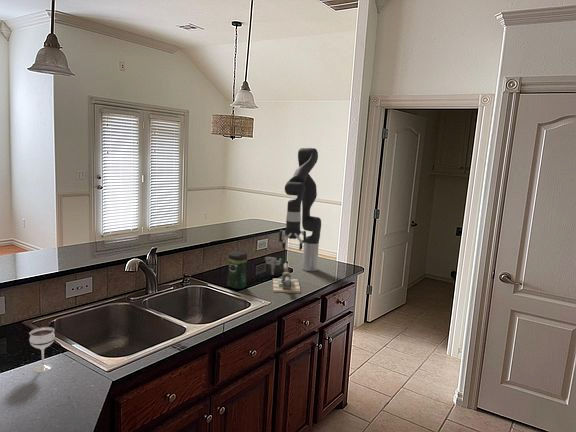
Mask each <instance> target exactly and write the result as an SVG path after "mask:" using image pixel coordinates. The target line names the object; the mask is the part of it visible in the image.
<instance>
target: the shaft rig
mask: <svg viewBox="0 0 576 432" xmlns="http://www.w3.org/2000/svg"><path fill="white" fill-rule="evenodd" d="M283 272H289V264H288V262H285V263H283ZM283 272H282V273H281V278H272V292H273V293H293V294H297V293H298V294H301V288H300V284H299V279H298V278H297V279H295V278H289V277H286V278H285V281H283V283H282V279H283Z"/></svg>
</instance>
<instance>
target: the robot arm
mask: <svg viewBox="0 0 576 432" xmlns="http://www.w3.org/2000/svg"><path fill="white" fill-rule="evenodd" d="M297 160H298V167H297V169H295V172H294V173H293V175H292V177H290V179H288V180H287V182H286V184H285V186H284V192H285V194H286V195H288V196H295V197H296V198H295V199H294V198H293V199H289V200H288V201H287V210H286V218H285V219H286V220H285V221H286V222H285V223H286V224H285V230H283V229H280V230H279V237H278V241H279V242H280V243H282V244H281V249H282V250H283V251H285V250H286V242H287V240H288V239H290V240H292V239H293V240H296V239H297V240H298V242H299V245H298V246H299V249H298V250H299V251H301V250H302V249H303V250H302V264H301V266H302V267H301V270H303V271H306V272H317V270H318V260H319V259H318V257H319V244H320V238H321V231H322V230H321V229H322V219H321V218H320V217H319V216H313V215H311V208H312V206H313V205H314V203H315V201H316V200H317V196H318V192H317V191H318V190H317V184H316V181H314V179H313V178H312V176H311V175H310V172H311V171H312V170H313V168H314V167H315V166H316V164H317V162H318V160H319V151H318V150H317V148H314V147H313V148H312V147H302V148H299V149H298V152H297ZM301 207H302V208H301ZM301 211H302V212H301ZM301 226H302V229H303V230H301ZM307 232H311V235H308V236H307ZM284 234H285V236H284V238H283V239H282V237H283V235H284ZM300 235H302V237H303V238H302V239H301V237H300Z"/></svg>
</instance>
